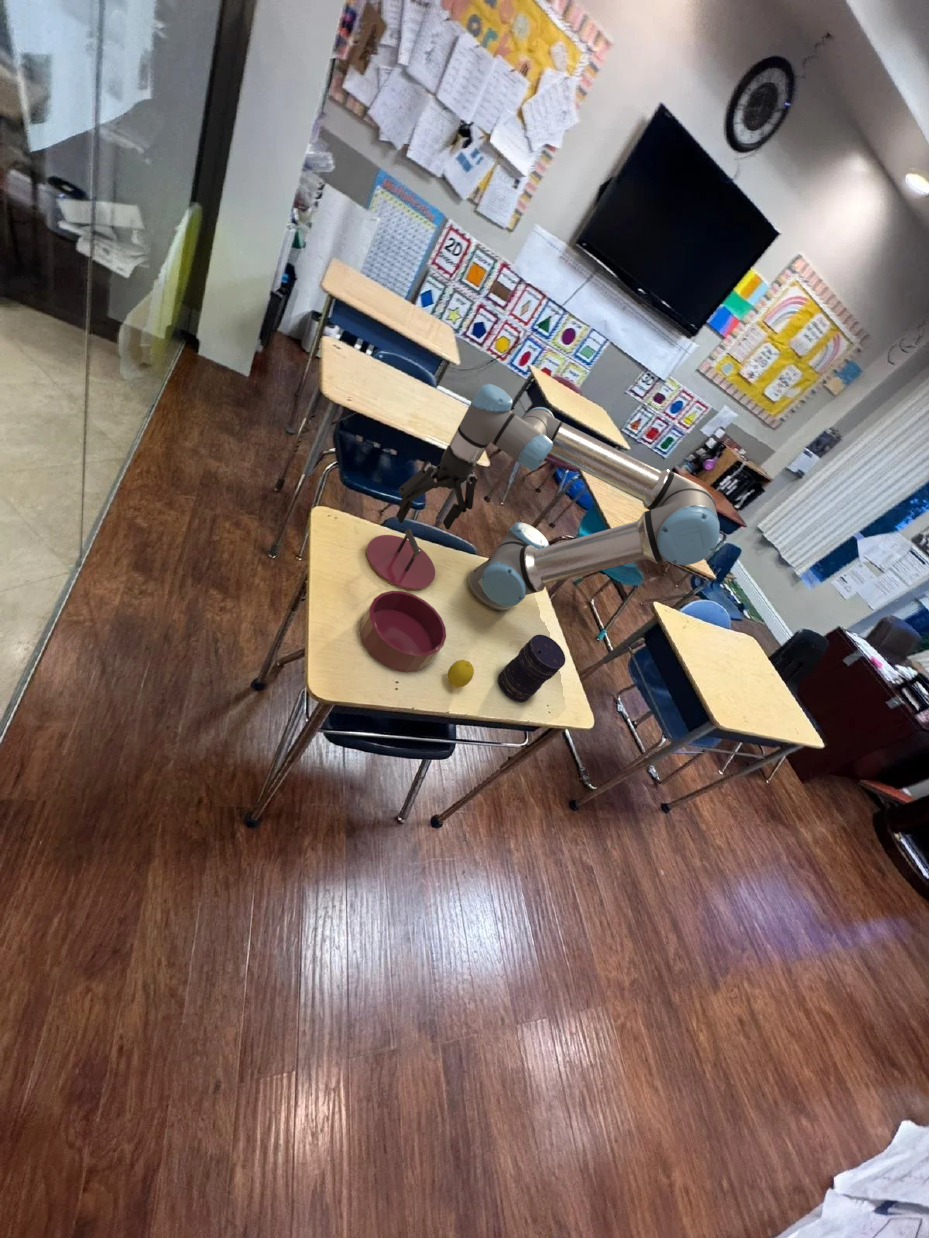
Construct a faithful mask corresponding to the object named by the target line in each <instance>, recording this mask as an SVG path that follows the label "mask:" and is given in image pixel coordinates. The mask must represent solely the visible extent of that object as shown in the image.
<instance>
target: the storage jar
mask: <svg viewBox="0 0 929 1238" xmlns="http://www.w3.org/2000/svg"><path fill="white" fill-rule="evenodd" d="M565 664H566V655H565V652H564V651H563V649H562V647H561V646H560V645H559V644H558V642H556V640H554V639H553V638H551V637H550V636H547V635H545V634H535V635H533V636H532V637H531V638H530V640H528V642H526V643H525V644H524V645H523V646H522V648H521V649H520V650H519V652H518V654H517V655H516V656H515V657H514V658H512V659H511V660H510V661H509V662H508V663H507V664H506V665H505V666H504V667H503V669H502V670H501V671H500V672H499V674H497V675H498V676H497V683H498V684H497V685H498V686H499V689H500V690H501V692H502V693H503V694H504V696H505V697H507V698H508V699H510V700H511V701H513V702H516V703H525V702H527V701H528V700H529V699H531V697H533V696H534V695H535V694H536V693H538V691H540V689H541V688H542V686H543V684H545V683H546V682H547V681H549V680H551V679H552V678H553V677H554V676H555V675H556V674H557V673H558V672H559V671H560V670H561V669H562V667H564V666H565Z"/></svg>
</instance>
